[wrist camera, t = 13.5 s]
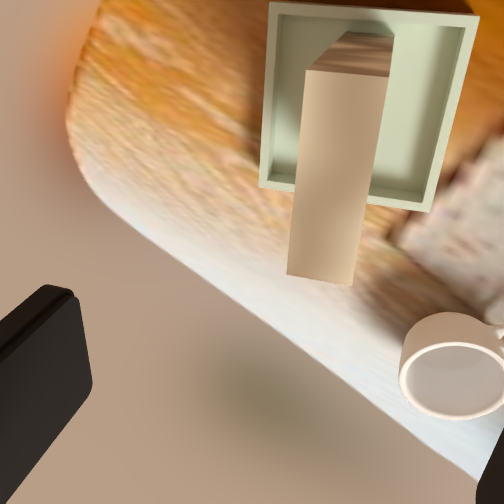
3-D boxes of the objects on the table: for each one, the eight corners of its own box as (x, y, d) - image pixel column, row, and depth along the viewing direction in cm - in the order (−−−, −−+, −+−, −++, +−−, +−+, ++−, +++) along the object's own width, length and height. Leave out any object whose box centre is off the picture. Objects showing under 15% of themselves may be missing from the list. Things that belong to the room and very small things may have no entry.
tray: (474, 13, 29) (480, 16, 27) (427, 199, 35) (429, 212, 33) (277, 0, 31) (269, 2, 29) (266, 175, 37) (258, 187, 35)
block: (394, 35, 30) (389, 77, 17) (370, 172, 34) (351, 286, 22) (346, 31, 30) (306, 69, 18) (328, 167, 35) (286, 274, 22)
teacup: (431, 384, 43) (434, 432, 38) (380, 323, 41) (377, 366, 36) (547, 340, 38) (567, 389, 33) (494, 268, 36) (508, 310, 31)
